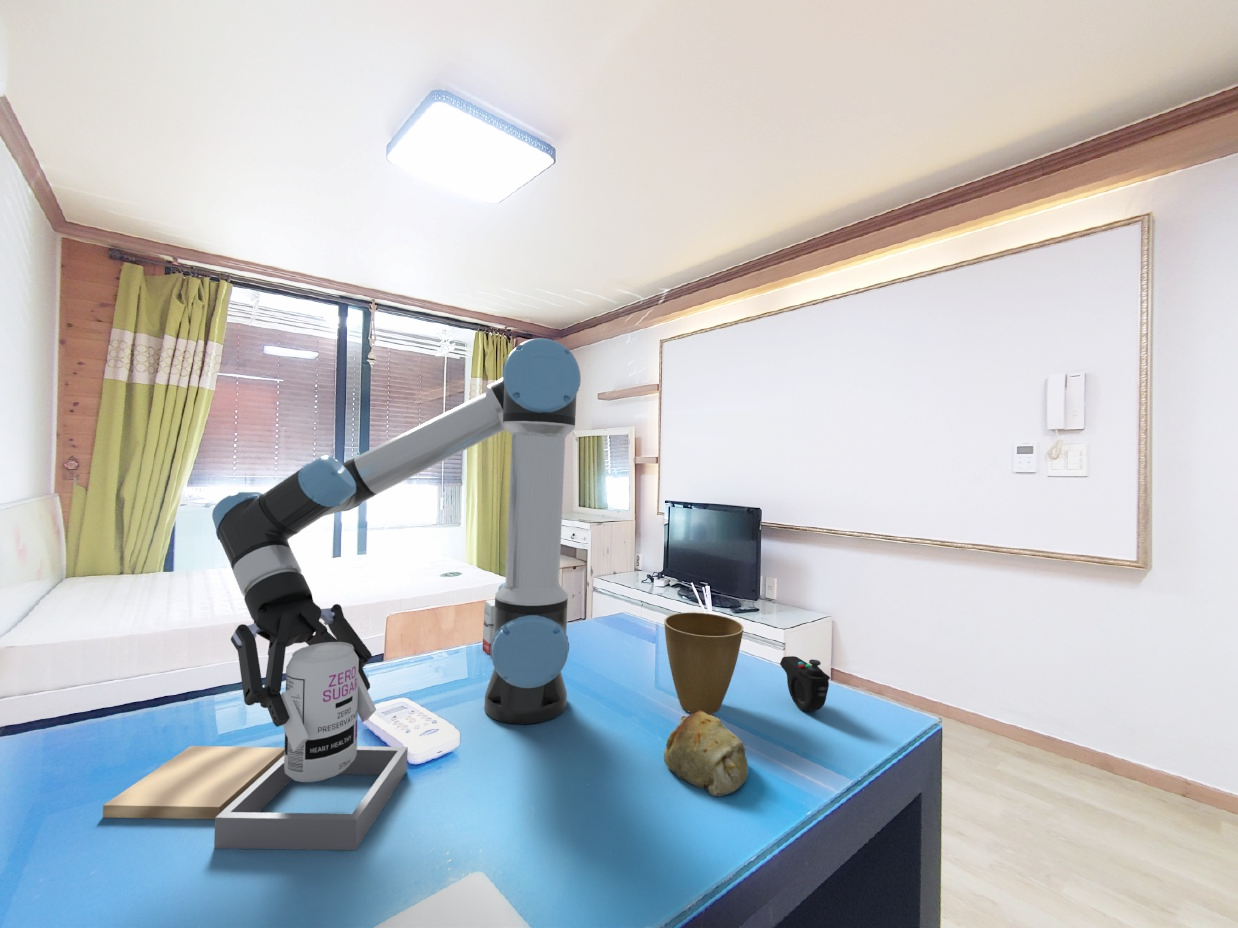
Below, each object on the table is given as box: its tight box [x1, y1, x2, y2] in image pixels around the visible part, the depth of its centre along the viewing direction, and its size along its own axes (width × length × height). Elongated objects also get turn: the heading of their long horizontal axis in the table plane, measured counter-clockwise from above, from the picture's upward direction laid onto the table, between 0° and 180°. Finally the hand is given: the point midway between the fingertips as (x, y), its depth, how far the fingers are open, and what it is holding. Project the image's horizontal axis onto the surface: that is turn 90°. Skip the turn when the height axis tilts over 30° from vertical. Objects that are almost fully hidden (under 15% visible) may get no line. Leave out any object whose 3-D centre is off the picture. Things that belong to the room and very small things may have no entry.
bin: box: [213, 745, 409, 851], centre depth 70 cm, size 16×16×4 cm
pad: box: [102, 745, 285, 820], centre depth 73 cm, size 14×14×2 cm
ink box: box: [482, 599, 495, 656], centre depth 130 cm, size 8×5×12 cm, turn 123°
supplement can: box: [284, 642, 359, 783], centre depth 70 cm, size 8×8×15 cm
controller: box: [779, 655, 831, 712], centre depth 104 cm, size 4×12×10 cm, turn 13°
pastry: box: [663, 710, 749, 797], centre depth 81 cm, size 14×12×8 cm
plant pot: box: [663, 611, 744, 715], centre depth 102 cm, size 15×15×16 cm
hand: (337, 729), depth 68 cm, fingers closed on supplement can, 8 cm apart
